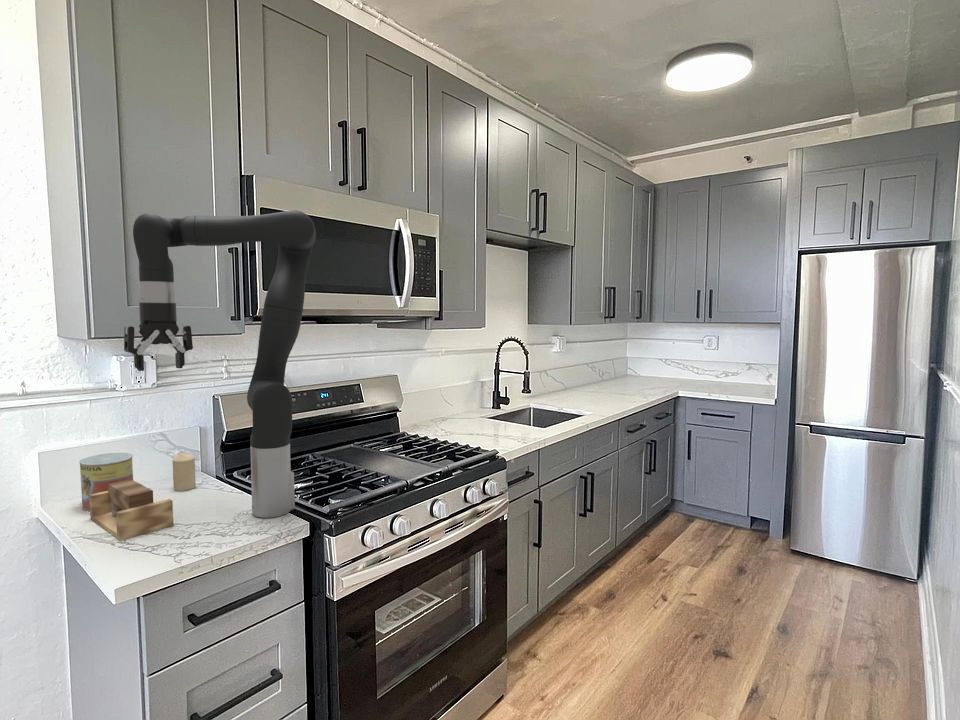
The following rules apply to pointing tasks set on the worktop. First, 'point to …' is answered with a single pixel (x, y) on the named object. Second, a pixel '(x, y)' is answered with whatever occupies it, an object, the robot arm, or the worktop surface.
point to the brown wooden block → (129, 494)
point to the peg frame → (129, 516)
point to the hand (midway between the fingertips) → (160, 369)
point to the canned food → (103, 473)
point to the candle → (184, 472)
